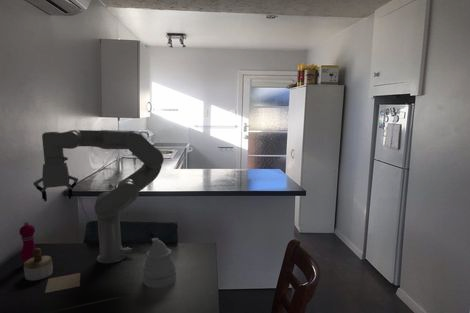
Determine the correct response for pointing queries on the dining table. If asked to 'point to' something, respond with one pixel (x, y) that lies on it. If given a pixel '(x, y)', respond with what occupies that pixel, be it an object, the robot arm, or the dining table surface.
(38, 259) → the lid
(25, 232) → the pepper mill
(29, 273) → the bowl
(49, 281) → the mat
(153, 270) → the honey pot
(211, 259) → the dining table surface
